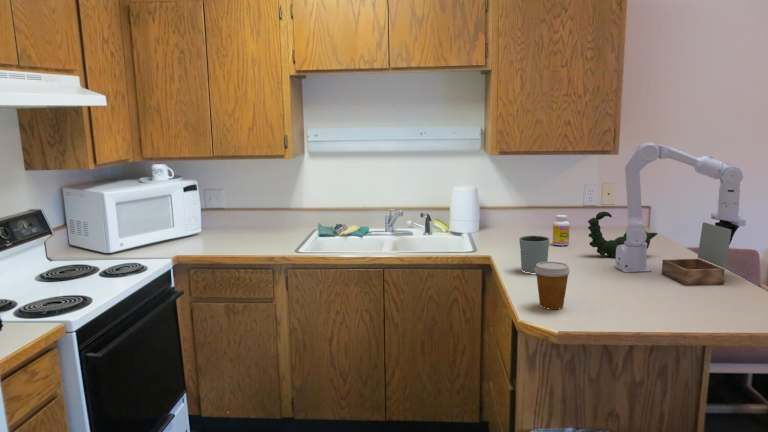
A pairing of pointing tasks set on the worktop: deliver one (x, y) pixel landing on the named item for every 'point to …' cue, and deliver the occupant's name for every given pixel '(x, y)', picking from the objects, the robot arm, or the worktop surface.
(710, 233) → the lid
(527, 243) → the grey cup
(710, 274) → the box
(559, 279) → the disposable coffee cup
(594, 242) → the toy figurine
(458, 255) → the worktop surface
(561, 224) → the supplement bottle
